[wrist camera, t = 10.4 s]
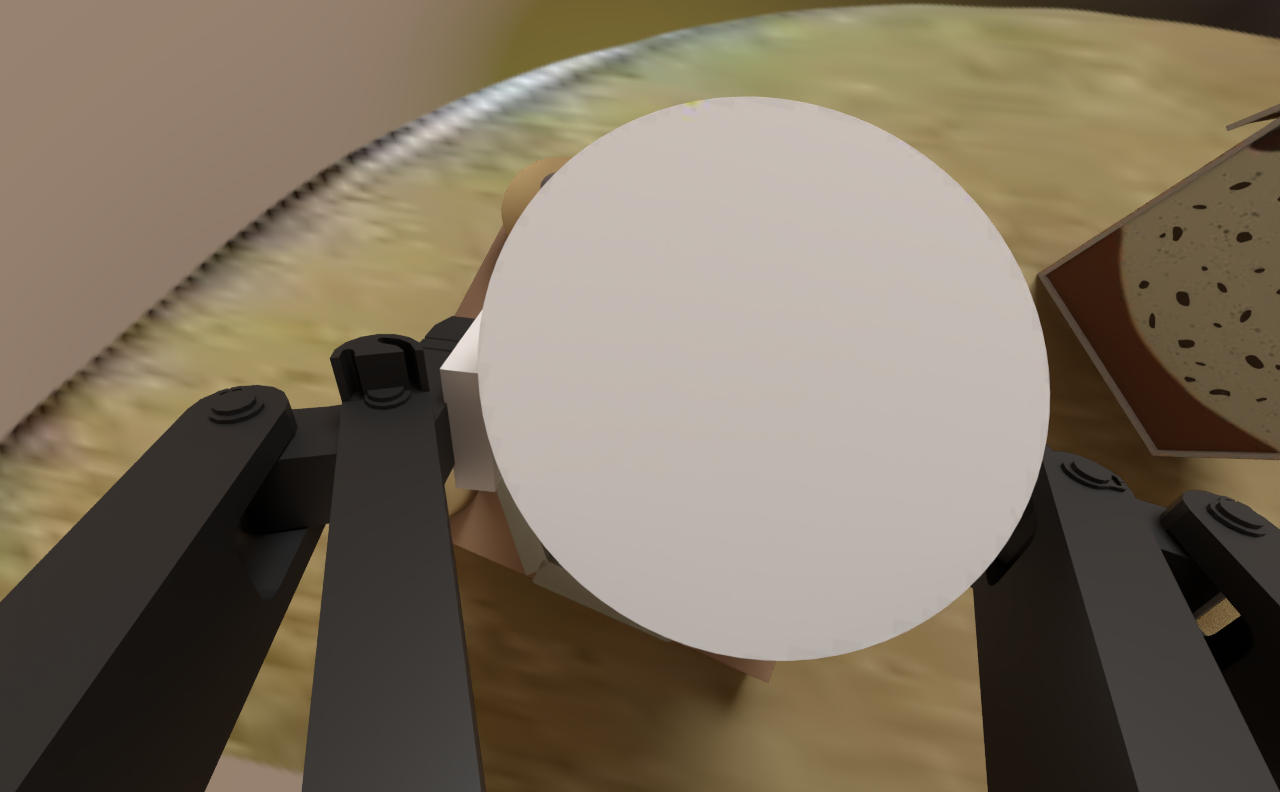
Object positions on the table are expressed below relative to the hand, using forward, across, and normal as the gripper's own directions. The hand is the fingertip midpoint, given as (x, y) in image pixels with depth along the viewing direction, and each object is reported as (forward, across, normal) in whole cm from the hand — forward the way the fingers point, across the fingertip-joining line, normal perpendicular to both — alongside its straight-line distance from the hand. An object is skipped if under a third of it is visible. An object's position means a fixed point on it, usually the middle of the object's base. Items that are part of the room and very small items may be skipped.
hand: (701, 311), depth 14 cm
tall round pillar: (+2, 0, -6) cm, 6 cm away
